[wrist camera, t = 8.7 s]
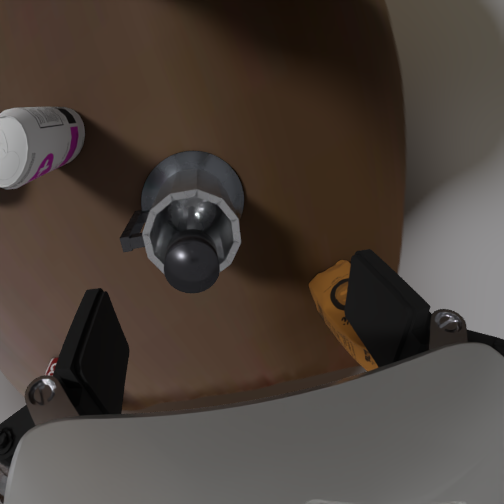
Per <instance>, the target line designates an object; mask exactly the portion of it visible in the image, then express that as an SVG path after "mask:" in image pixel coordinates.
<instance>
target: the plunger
mask: <svg viewBox="0 0 504 504" xmlns="http://www.w3.org/2000/svg"><path fill="white" fill-rule="evenodd" d="M168 213H169V217H170V220H171V221H172V223H173V224H174V225H175V226H176V227H177V228H178V229H180V230H182V231H180V232H178V233H177V234H175V235H174V236H173V237H172V238H171V240H170V241H169V243H168V246H167V250H166V256H165V261H164V274H165V277H166V279H167V281H168V282H169V283H170V285H171V286H173V287H174V288H175V289H177V290H179V291H182V292H185V293H198V292H202V291H204V290H207V289H208V288H210V287H211V286H212V285H213V284H214V283H215V282H216V280H217V278H218V276H219V272H220V265H219V260H218V254H217V248H216V245H215V242H214V241H213V239H212V238H211V237H210V236H209V235H208V234H207V233H205V232H203V231H202V230H204V229H206V228H207V227H208V226H209V225H210V224H211V223H212V222H213V220H214V218H215V215H216V204H214V203H212V202H209V201H206V200H203V199H201V198H198V197H192V198H186V199H180V200H174V201H172V202H171V203H170V204H169V207H168Z"/></svg>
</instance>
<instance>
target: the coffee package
mask: <svg viewBox="0 0 504 504" xmlns="http://www.w3.org/2000/svg"><path fill="white" fill-rule="evenodd" d="M350 265H351V264H350V263H349V261H345V260H340V261H338V262H337V263H336V264H335V265H334V266H333V267H330V268H328V269H327V270H326V271H324V272H322V273H318V274H317V275H316V276H315V277H314V278H313V279H312V280H311V281H310V283H309V289H310V291H311V294H312V297H313V299H314V301H315V303H316V306H317V310H318V312H319V313H320V315H321V317H322V318H323V320H324V321H325V323H326V324H327V326H328V327H329V329H330V330H331V331H332V333H333V334H334V335H335V337H336V338H337V339H338V341H339V342H340V343H341V344H342V345H343V347H344V348H345V349H346V350H347V351H348V353H349V354H350V355H351V356H352V357H353V358H354V359H355V360H356V361H357V362H358V363H359V364H360V365H361V366H362V367H363V368H365V369H366V371H370V370H373V369H376V368H379V367H378V366H377V364H376V362H375V361H374V359H373V358H372V356H371V355H370V353H369V352H368V350H367V349H366V347H365V346H364V344H363V343H362V341H361V340H360V338H359V337H358V335H357V334H356V332H355V331H354V329H353V328H352V326H351V325H350V323H349V322H348V320H347V319H346V317H345V313H344V309H345V302H346V296H347V288H348V281H349V273H350Z"/></svg>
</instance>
